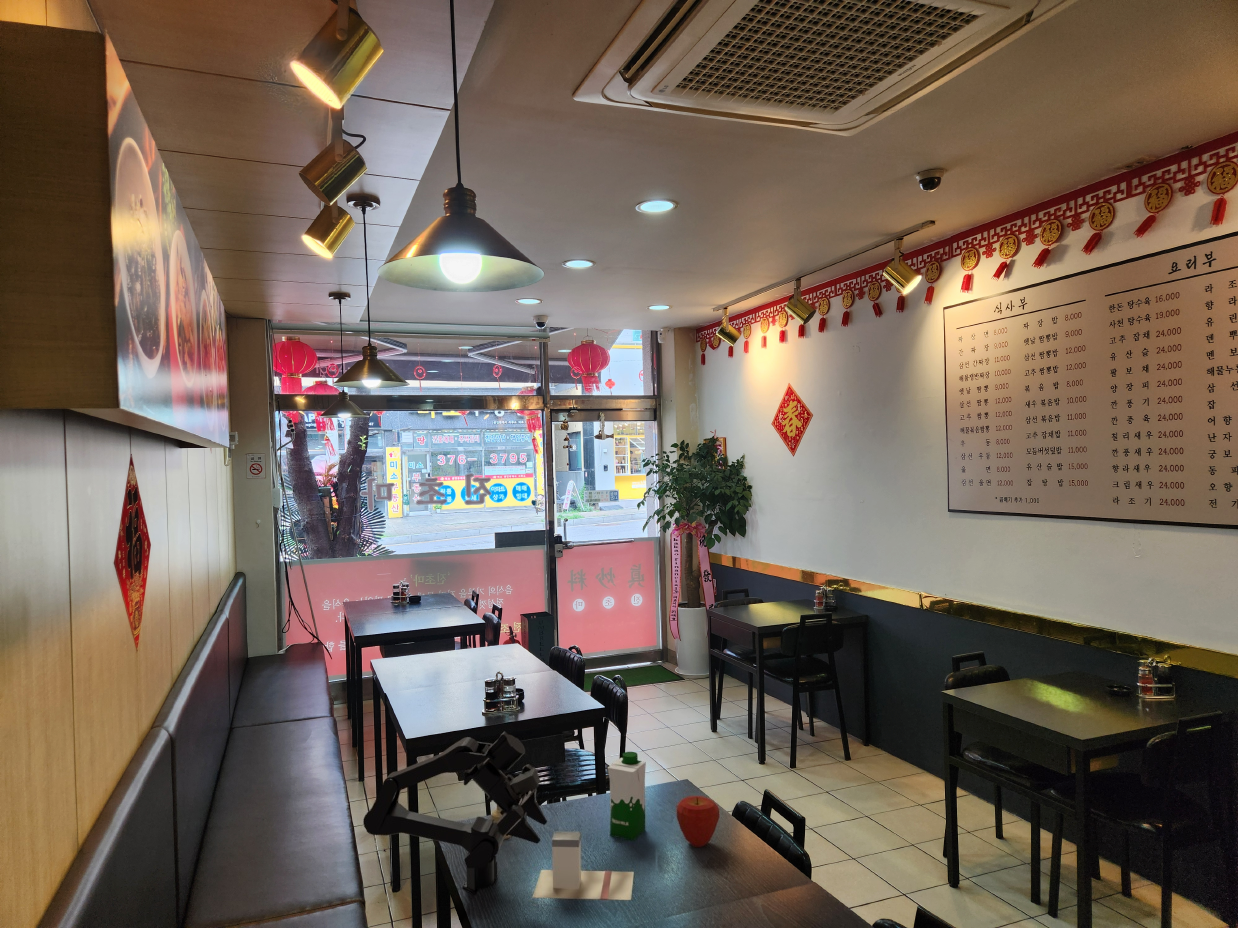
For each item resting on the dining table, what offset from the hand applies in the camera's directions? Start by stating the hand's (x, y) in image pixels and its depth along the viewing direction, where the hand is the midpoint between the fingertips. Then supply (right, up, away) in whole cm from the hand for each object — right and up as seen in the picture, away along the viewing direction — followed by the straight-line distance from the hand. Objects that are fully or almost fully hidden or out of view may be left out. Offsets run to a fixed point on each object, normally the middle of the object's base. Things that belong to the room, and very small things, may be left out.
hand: (542, 832), depth 178 cm
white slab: (+6, -12, -1) cm, 13 cm away
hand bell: (-14, -14, +28) cm, 34 cm away
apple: (+38, -13, +20) cm, 45 cm away
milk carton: (+20, -13, +27) cm, 36 cm away
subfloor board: (+10, -13, -1) cm, 16 cm away
